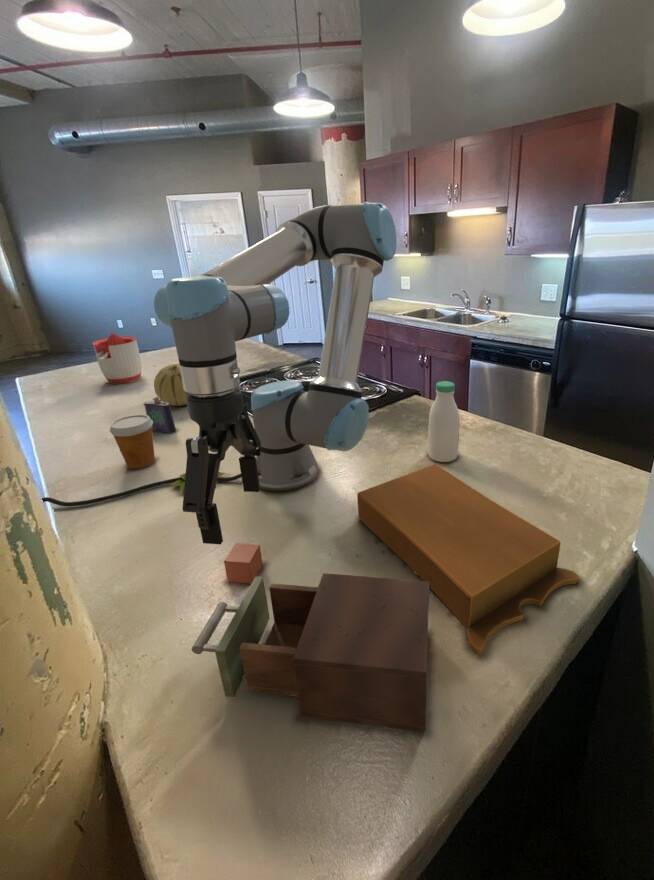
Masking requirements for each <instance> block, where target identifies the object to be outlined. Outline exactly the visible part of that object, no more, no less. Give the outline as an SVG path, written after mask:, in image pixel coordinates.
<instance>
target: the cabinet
mask: <svg viewBox="0 0 654 880" xmlns="http://www.w3.org/2000/svg"><path fill="white" fill-rule="evenodd" d="M317 587H318V589H317V592H316V595H315V597H314V600H313V603H312V606H311V609H310V612H309V615H308V618H307V620H306V623H305V626H304V629H303V632H302V635H301V638H300V641H299V643H298V646H297V649H296V652H295V655H294V658H293V659H294V667H295V674H296V682H297V689H298V696H299V697H298V696H297V697H298V703H299V709H300V717H302V718H303V717H304V718H312V719H319V720H327V721H334V722H335V721H336V722H344V723H352V724H361V725H369V726H376V727H385V728H392V729H401V730H408V731H417V732H426V723H427V722H426V720H427V719H426V718H427V717H426V715H427V687H428V686H427V685H428V683H427V682H428V680H427V679H428V645H429V612H430V611H429V609H430V608H429V607H430V605H429V604H430V587H429V582H428V581H423V580H417V579H416V580H413V579H402V578H389V577H375V576H364V575H363V576H362V575H361V576H360V575H351V574H339V573H325V572H323V573H322V574H321V578H320V580H319V584H318V586H317Z"/></svg>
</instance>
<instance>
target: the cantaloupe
mask: <svg viewBox="0 0 654 880" xmlns="http://www.w3.org/2000/svg"><path fill="white" fill-rule="evenodd" d="M153 388H154V392H155V395H156V397H158V396H159V397H158V398H159V400H162V401H161V402H166V403H169V404H170V406H173V407H178V406H179V407H182V406H185V405H187V402H186V395H187V394H188V393H187V392H185V391H184V389H183V383H182V377H181V371H180V366H179V363H171V364H167V365H166V366H163V367H162V368H161V369H160V370H159V371H158V372H157V373H156V375H155V377H154V381H153Z"/></svg>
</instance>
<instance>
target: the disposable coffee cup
mask: <svg viewBox="0 0 654 880" xmlns="http://www.w3.org/2000/svg"><path fill="white" fill-rule="evenodd" d="M152 424H153V421H152V420H151V419H150V417H149V416H147V414H131V415H126V416H123V417H119V418H117V419H115V420H113V421H112V422H111V423H110V428H109V433H110V434H111V435H112V436H113V438H114V440H115V443H116V444H117V445H116V446H117V447H118V449H119V451H120V453H121V456H122V458H123V460H124V463H125V465H126V466H127V468H128V469H130V470H140V469H144V468H148V467H149V466H151V465H153V464H154V463H155V461H156V460H155V449H154V448H155V447H154V446H155V445H154V436H153V430H152Z"/></svg>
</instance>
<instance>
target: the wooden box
mask: <svg viewBox="0 0 654 880" xmlns="http://www.w3.org/2000/svg"><path fill="white" fill-rule="evenodd" d="M356 495H357V496H356V497H357V514H358V515H357V516H358V518H359V519H360V521H361V522H362V523H363V524H364V525H365V526H366V527H367V528H369V530H370V531H371V532H372V533H374V534H375V535H376V536H377V537H378V538H379V539H380V540H381V541H382V542H383V543H385V544H386V546H387V547H389V548H390V549H391V550H392V551H393V552H394V553H395V554H396V555H397V556H398V557H399V558H400V559H401V560H402V561H403V562H405V564H406V565H407V566H408V567H409V568H410V569H411V570H412V571H413V572H414V573H415V574H416V575H417V576H418V577H419V579H421V581H428V582H429V589H430V590H432V592H433V593H434V594H435V595H436V596H437V597H438V598H439V599H440V600H441V601H442V602H443V604H445V605H446V607H447V608H448V609H449V610H450V611H451V612H452V613H453V614H454V615H455V616H456V617H457V619H458V620H459V621H460V622H461V623H462V625H463V626H464V627H465V628H466V633H467V642H468V644H469V647H470V649H471V650H472V651H473V652H474V653H476V654H482V653H484V651H485V648H486V645H487V644H488V640H489V639H490V638H491V637H492V636H493V635H494V633H496V632H497V631H499V630H500V629H502V628H503V627H505V626H508V625H512V624H514V623H517V622H521V621H523V619H524V613H522V610H521V607H522V606H524V605H527V604H533V605H537V606H538V607H542V606H543V604H544V603H545V601H546V599H547V598H548V597H549V595H550V594H551V593H552V592H553V591H555V590H556V589H558V588H560V587H562V586H568V585H575V584H577V583H579V580H580V577H579V575H578V574H577V573H576V572H574V571H573V570H569V569H567V568H563V567H558V562H559V556H560V549H561V544H562V543H561V541H560V540H559V539H557V538H556V537H554V536H553V535H551V534H550V533H547V532H546V531H544V530H542V529H540V528H539V527H537V526H536V525H534V524H532V523H530V522H529V521H527V520H525V519H523V518H522V517H521V516H518V515H517V514H515V513H514V512H511V511H510V510H509V509H508V508H506V507H504V506H502V505H500V504H499V503H497V502H495V501H494V500H492V499H490V498H488V496H485V495H484V494H482V493H481V492H479V491H478V490H476V489H475V488H472V486H470V485H469V484H467V483H466V482H464V481H462V480H461V479H459V478H458V477H456V476H455V475H454V474H452V473H450V472H449V471H447V470H446V469H444V468H443V467H441V466H440V465H438V464H437V463H434V464H431V465H427V466H426V467H423V468H420V469H417V470H414V471H412V472H410V473H407V474H404V475H401V476H399V477H396V478H394V479H390V480H388V481H385V482H383V483H380V484H378V485H377V484H376V485H375V486H372V487H370V488H366V489H364V490H362V491H359V492H357V494H356Z"/></svg>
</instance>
